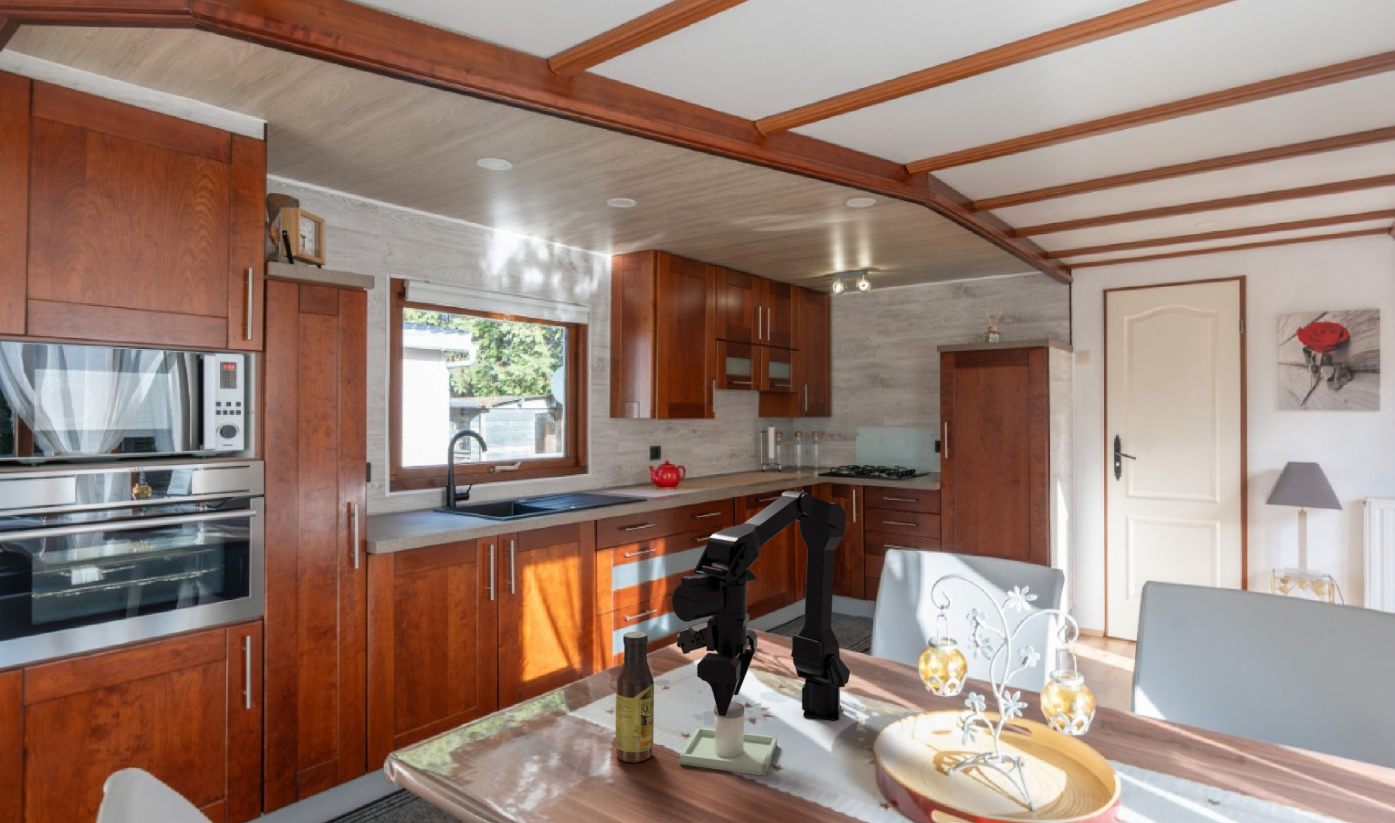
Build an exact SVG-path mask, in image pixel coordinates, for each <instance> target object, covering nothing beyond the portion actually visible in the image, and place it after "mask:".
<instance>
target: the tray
mask: <svg viewBox="0 0 1395 823" xmlns="http://www.w3.org/2000/svg"><path fill="white" fill-rule="evenodd" d="M777 747H778V736H774V735H765V734H756V733H750V732H744V753H743V754H742V755H741V756H739V757H736V758H724V757H720V756H718V755H717V754H716V753H715V728H707V727H698V726H697V727H696V729H695V730H694V732H693V734H692V735H691V736H690V738H689V740H688V741H687V743H686V745H685V746H684V747H683V749H682V750H681V752H680V754H679V765H683V766H690V767H698V768H706V769H713V770H721V771H728V772H735V773H741V774H742V773H743V774H750V775H751V774H752V775H757V776H765V777H766V776H767V773H768V770H769V768H770V766H771V763H772V759H773V757H774V754H775V752H776V749H777Z"/></svg>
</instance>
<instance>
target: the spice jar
mask: <svg viewBox="0 0 1395 823" xmlns="http://www.w3.org/2000/svg"><path fill="white" fill-rule="evenodd" d="M713 714H714V729H715V753H716V754H717V755H718V756H720V757H724V758H736V757H739V756H741V755H742V754H743V753H744V733H745V730H744V728H745V727H744V725H745V718H744V716H745V715H744V714H745V705H743V703H739V702H735V701H731V703H730V706H729V709H728V711H727V714H726V716H720V715H719V714H718V710H717V706H716V704H714V706H713Z"/></svg>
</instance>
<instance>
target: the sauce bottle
mask: <svg viewBox="0 0 1395 823" xmlns="http://www.w3.org/2000/svg"><path fill="white" fill-rule="evenodd" d="M648 639H649V638H648V633H646V632H644V631H629V632H625V633H624V634H623V636H622V642H623V648H624V651H623V663H622V665H621V667H620V668H619V670H618V672H617V675H616V676H617V677H616V692H615V748H616V750H615V753H616V754H615V755H616V757H617V758H618V759H619V760H621V761H622V762H627V763H638V762H639V763H640V762H643V761H646V760H648V759H650V758H651V757H652V755H653V748H654V730H655V728H654V727H655V726H654V722H655V721H654V720H655V714H654V711H655V681H654V678H653V675H652V672H651V670H650V666H649V663H648V657H647V655H648V654H647V651H648V650H647V649H648V648H647V645H648V643H649V642H648V641H649V640H648Z"/></svg>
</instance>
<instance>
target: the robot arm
mask: <svg viewBox="0 0 1395 823" xmlns="http://www.w3.org/2000/svg"><path fill="white" fill-rule="evenodd" d="M846 514H847V513H846V510H844V509H843V507H842V505H841V504H839V503H837V502H828V501H826V500H823V499H820V498H817V497H815V496H813V495H811V494H809V493H807V492H805V491H798V490H797V491H796V490H786V491H784V492H782V493H781V495H780V497H778V498H777V499H775V501H773V502H772V503H770V504H769V505H768V506H766V507H765V508H764V509H762V510H760V511H759V512H758V513H756V514H755V515H753V516H752V517H751V518H749V519H748V520H746V521H745V522H743V523H741V524H739V525H734V526H730V527H725V528H723V529H721V530H719V531H717V532H714V533H712V534H711V536H709V538H708V540H707V544H706V546H705V547H704V550H703V552H702V554H701V556H700V557H699V560H698V562H697V564H696V566H695V569H694V570H693V575H686V576H681V580H680V581H681V583H680V585H678V586H677V587H676V588H675V590H674V592H673V595H672V596H671V604H672V608H673V612H674V614H675V615H676V617H677V618H678V619H679V620H680V621H681V622H685V623H689V622H692V621H696V620H700V619H703V618H704V619H705V618H707V617H709V618H708V619H707V621H706V622H703V623H699V624H695V625H693V626H689V627H686V628H682V629H681V630H680V631H679V633H678V634H676V639H677V641H676V647H678V648H680V649H681V651H682V652H681V653H682V654H684V655H686V654H689V653H691V652H693V651H696V650H699V649H703V648H706V652H707V653H706V654H705V655H704V656H703V657H702V658H701V660H700V661H699V662H697V664H696V671H697V672H696V677H697V678H699V679H701V681H703V682H706V683H707V684H708V685H709V686H710V688H711V691H712V694H713V698H714V701H715V705H716V706H717V710H718V714H719V715H720V716H726V714H727V711H728V709H729V706H730V703H731V702H732V700H733V697H734V696H739V693H740V691H741V688H742V686H743V684H744V681H745V678H746V676H747V673H748V670H749V669H750V665H751V663H752V661H753V658H754V657H755V654H756V649H757V648H758V634H756V632H755V631H754V630H752V629H747V628H748V627H747V626H748V625H747V623H748V622H749V621H750V613H748V612H747V611H748V605H747V604H748V602H747V601H748V600H747V599H748V597H747V596H748V594H747V593H748V591H747V590H748V582H751V581H752V582H753V581H755V580H756V578H757V576H756V575H755V574H754V573H753V572H752V571H751V570H750V569H749V568H750V567H751V566H752V565H753V564H754V563H755V561H757V559H758V558H759V557H760V554H761V549H762V547H763V546H764V545H765V544H766V543H767V542H769V541H770V540H771V539H773V538H774V537H775V536H777V535H778V534H779V533H781V532H782V531H783V530H785V529H786V528H787V527H789V526H790V525H791V524H792V523H794V522H795V521H797V522H799V533H800V536H801V538H802V540H803V542H804V543H805V544H804V545H805V547H806V549H807V550H806V551H807V552H806V553H807V554H806V555H807V557H806V577H805V578H806V579H805V599H804V600H805V602H804V603H805V604H804V622H803V627H802V628H801V629H800V631H799V633H798V634H794V635H793V636H792V639H791V640H792V641H791V643H792V645H791V646H792V647H791V648H792V649H791V654H790V657H791V658H792V662H793V663H792V664H793V666H794V668H795V672H796V676H797V678H802V679H804V684H803V685H802V688H801V709H802V711H803V715H802V716H803V717H804V718H810V719H819V720H828V721H829V720H830V721H839V720H840V717H841V716H840V715H841V711H842V705H841V688H845V686H846V684H848V683H849V680H850V675H851V671H850V669H849V668H848V667H847V666H846V664H845V663H844V662H843V660H842V659H841V657H840V655H841V654H840V644H839V641H838V638H837V637H836V635H835V633H834V630H833V629H832V612H833V596H834V595H833V594H834V593H833V591H834V590H833V588H834V587H833V586H834V566H835V550H836V548H837V547H838V546H839V545H840V542H841V541H842V540H843V538H844V534H845V529H846V528H845V527H846V522H847V515H846ZM749 646H750V648H748V647H749ZM714 651H715V652H714Z"/></svg>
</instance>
